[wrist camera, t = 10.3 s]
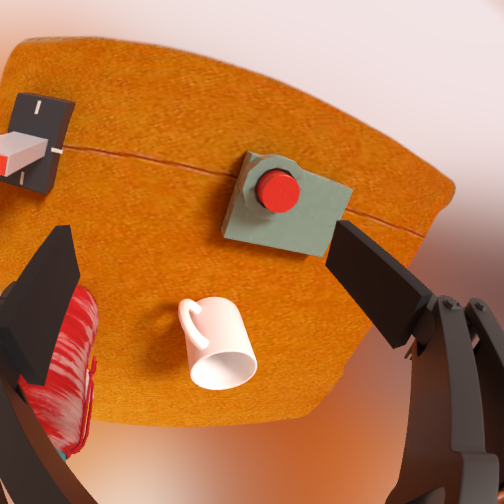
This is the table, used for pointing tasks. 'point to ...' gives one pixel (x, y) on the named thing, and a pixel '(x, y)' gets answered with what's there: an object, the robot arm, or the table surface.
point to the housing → (292, 221)
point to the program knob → (19, 151)
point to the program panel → (44, 126)
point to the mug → (216, 343)
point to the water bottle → (68, 378)
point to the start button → (278, 191)
